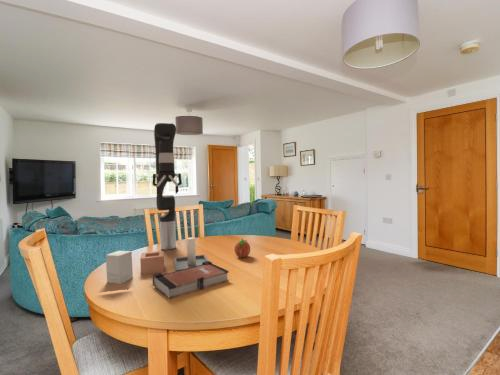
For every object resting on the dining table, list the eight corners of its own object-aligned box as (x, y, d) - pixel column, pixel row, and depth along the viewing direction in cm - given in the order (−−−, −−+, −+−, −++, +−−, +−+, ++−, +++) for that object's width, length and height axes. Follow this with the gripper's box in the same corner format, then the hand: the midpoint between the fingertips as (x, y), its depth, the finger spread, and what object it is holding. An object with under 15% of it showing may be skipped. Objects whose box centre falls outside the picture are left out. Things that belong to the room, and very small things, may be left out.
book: (169, 301, 98) (169, 287, 98) (153, 286, 112) (152, 274, 112) (229, 282, 115) (229, 270, 115) (208, 271, 128) (208, 260, 128)
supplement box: (133, 279, 119) (132, 251, 118) (120, 286, 112) (119, 255, 111) (120, 278, 121) (118, 250, 121) (106, 284, 114) (105, 254, 114)
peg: (187, 263, 136) (186, 237, 135) (195, 262, 137) (194, 237, 137) (187, 266, 132) (187, 239, 132) (196, 265, 133) (195, 238, 133)
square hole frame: (142, 269, 132) (141, 253, 132) (164, 266, 135) (163, 250, 135) (141, 276, 123) (140, 258, 123) (164, 273, 126) (163, 256, 126)
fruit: (231, 258, 146) (231, 240, 146) (239, 253, 155) (238, 236, 155) (246, 260, 143) (246, 241, 143) (253, 255, 152) (252, 237, 151)
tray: (174, 262, 142) (173, 257, 142) (204, 259, 147) (204, 254, 147) (176, 275, 123) (175, 270, 123) (211, 270, 128) (211, 265, 128)
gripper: (180, 162, 146) (181, 192, 146) (152, 162, 141) (153, 194, 142) (181, 161, 139) (182, 193, 139) (151, 161, 134) (152, 194, 135)
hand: (167, 193), depth 141 cm, fingers open, 8 cm apart
